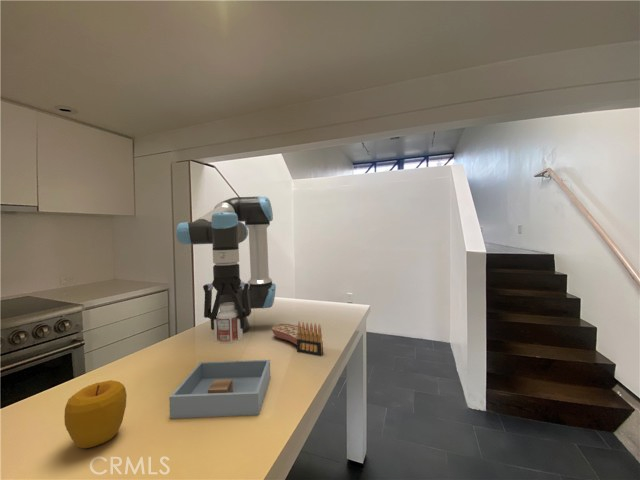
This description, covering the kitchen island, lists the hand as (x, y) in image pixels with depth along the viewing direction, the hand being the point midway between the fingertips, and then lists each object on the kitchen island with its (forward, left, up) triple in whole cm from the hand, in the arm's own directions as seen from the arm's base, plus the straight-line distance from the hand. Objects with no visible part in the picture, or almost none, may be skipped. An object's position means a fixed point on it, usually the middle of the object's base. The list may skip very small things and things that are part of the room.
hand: (228, 339), depth 82 cm
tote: (+4, 0, -15) cm, 15 cm away
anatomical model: (-34, +17, -15) cm, 41 cm away
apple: (+20, -24, -15) cm, 35 cm away
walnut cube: (+8, 0, -14) cm, 16 cm away
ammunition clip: (-22, +24, -15) cm, 36 cm away
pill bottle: (0, 0, -1) cm, 1 cm away
